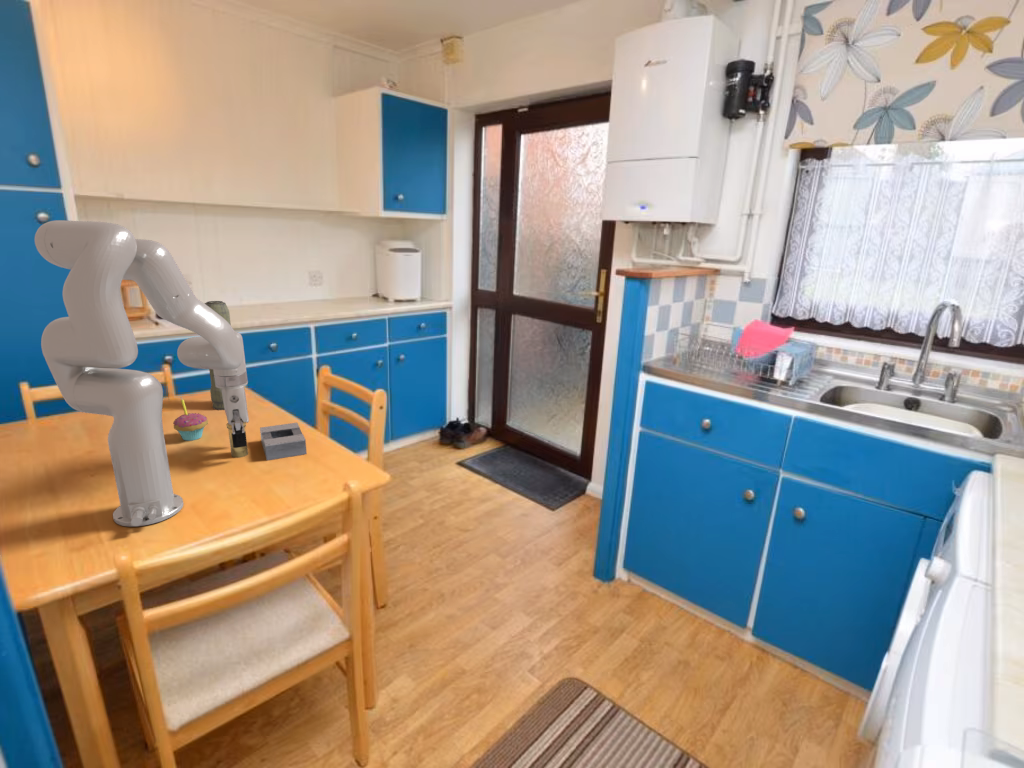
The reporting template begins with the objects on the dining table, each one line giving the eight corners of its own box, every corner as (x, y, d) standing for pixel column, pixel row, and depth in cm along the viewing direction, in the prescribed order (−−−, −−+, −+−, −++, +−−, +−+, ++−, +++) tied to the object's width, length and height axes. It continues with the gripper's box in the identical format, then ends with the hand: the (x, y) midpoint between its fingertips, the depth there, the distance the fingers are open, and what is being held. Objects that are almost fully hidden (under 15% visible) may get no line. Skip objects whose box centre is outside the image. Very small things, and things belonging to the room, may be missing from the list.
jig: (306, 453, 146) (305, 439, 145) (266, 460, 142) (265, 445, 140) (298, 436, 158) (297, 422, 157) (261, 441, 153) (259, 427, 152)
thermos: (239, 398, 187) (228, 298, 177) (244, 408, 178) (232, 304, 168) (211, 402, 183) (197, 299, 173) (213, 412, 173) (199, 305, 163)
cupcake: (168, 441, 151) (161, 400, 148) (192, 430, 159) (186, 392, 156) (193, 445, 149) (187, 404, 146) (216, 434, 157) (211, 395, 154)
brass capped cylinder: (249, 456, 144) (246, 425, 141) (230, 459, 141) (226, 427, 139) (248, 449, 148) (245, 419, 145) (229, 452, 145) (226, 421, 143)
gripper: (250, 386, 133) (257, 449, 138) (244, 369, 147) (251, 426, 153) (215, 390, 130) (224, 455, 135) (213, 372, 144) (221, 430, 149)
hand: (239, 439), depth 144 cm, fingers open, 9 cm apart
